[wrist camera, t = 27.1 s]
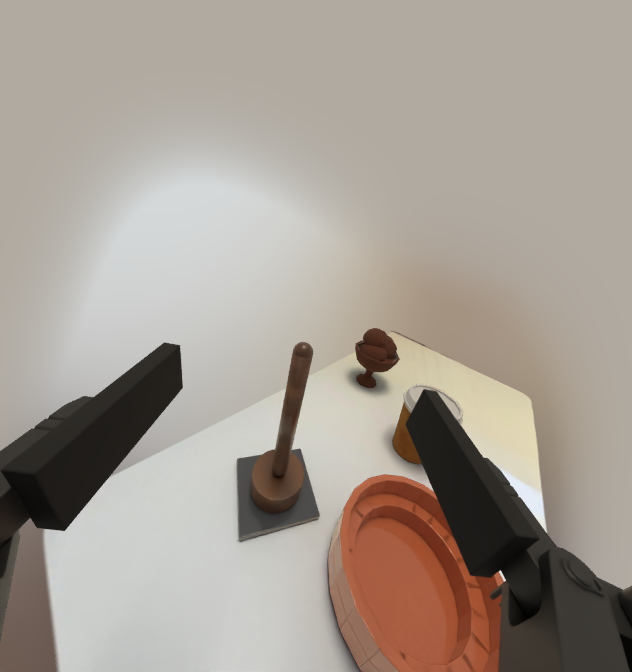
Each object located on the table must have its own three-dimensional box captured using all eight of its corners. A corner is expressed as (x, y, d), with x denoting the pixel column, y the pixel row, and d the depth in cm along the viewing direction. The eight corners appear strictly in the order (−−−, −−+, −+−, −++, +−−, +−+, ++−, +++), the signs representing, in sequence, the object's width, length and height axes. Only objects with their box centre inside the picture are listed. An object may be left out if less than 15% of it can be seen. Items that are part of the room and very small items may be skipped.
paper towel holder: (252, 520, 28) (274, 364, 18) (248, 466, 34) (263, 326, 24) (306, 506, 31) (352, 363, 21) (294, 458, 36) (325, 328, 26)
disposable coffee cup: (442, 479, 39) (477, 429, 34) (387, 464, 40) (413, 413, 34) (426, 434, 48) (452, 390, 43) (381, 423, 48) (401, 377, 43)
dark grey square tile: (239, 541, 27) (239, 538, 26) (236, 461, 35) (237, 458, 34) (318, 518, 30) (320, 515, 30) (299, 451, 38) (300, 448, 38)
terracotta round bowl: (375, 782, 16) (409, 778, 14) (308, 518, 30) (318, 489, 27) (516, 666, 22) (560, 646, 20) (408, 491, 36) (424, 464, 33)
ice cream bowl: (365, 399, 54) (386, 344, 48) (338, 372, 62) (353, 322, 56) (395, 390, 60) (417, 340, 53) (366, 366, 68) (382, 320, 61)
